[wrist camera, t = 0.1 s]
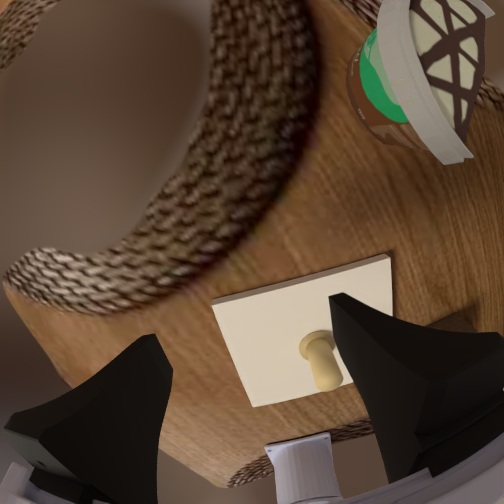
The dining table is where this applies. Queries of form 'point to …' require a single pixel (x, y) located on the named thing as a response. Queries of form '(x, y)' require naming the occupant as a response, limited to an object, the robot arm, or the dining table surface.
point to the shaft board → (297, 329)
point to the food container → (421, 74)
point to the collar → (453, 324)
